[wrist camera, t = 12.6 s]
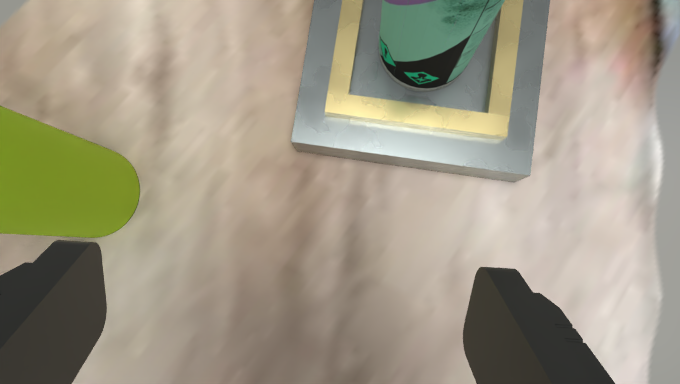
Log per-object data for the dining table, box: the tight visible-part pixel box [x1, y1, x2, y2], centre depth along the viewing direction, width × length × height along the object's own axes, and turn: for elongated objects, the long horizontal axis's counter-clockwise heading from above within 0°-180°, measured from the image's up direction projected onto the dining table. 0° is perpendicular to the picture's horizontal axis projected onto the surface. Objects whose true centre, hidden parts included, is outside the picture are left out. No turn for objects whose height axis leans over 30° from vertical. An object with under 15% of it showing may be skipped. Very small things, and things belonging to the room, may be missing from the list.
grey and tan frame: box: [291, 0, 550, 182], centre depth 29 cm, size 14×14×9 cm
